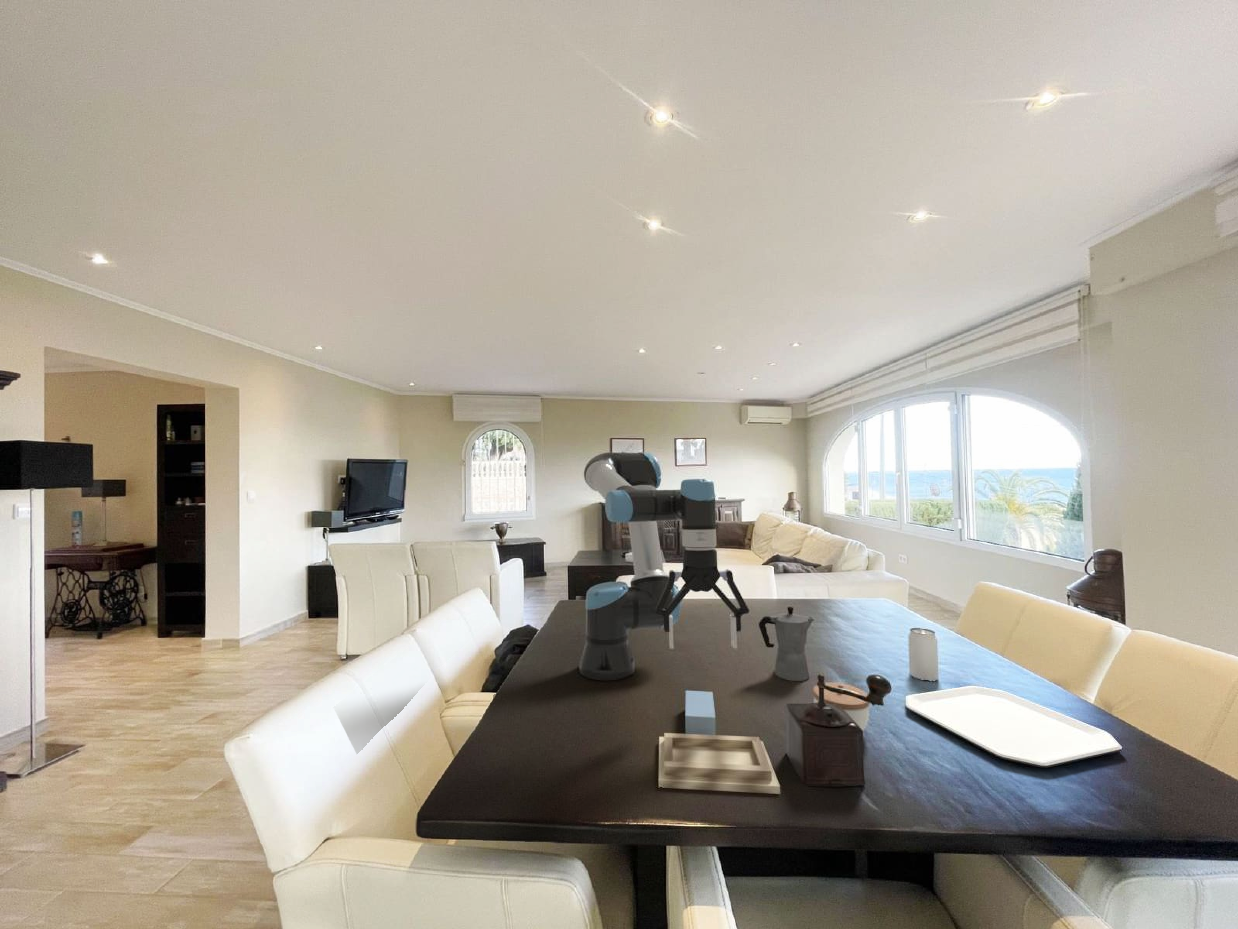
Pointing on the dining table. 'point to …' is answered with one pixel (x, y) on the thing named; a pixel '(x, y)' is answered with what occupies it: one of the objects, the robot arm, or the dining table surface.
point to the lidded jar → (846, 702)
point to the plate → (1012, 726)
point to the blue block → (700, 713)
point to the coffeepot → (789, 644)
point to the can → (923, 654)
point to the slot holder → (715, 763)
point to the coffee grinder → (829, 737)
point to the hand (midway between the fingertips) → (702, 647)
